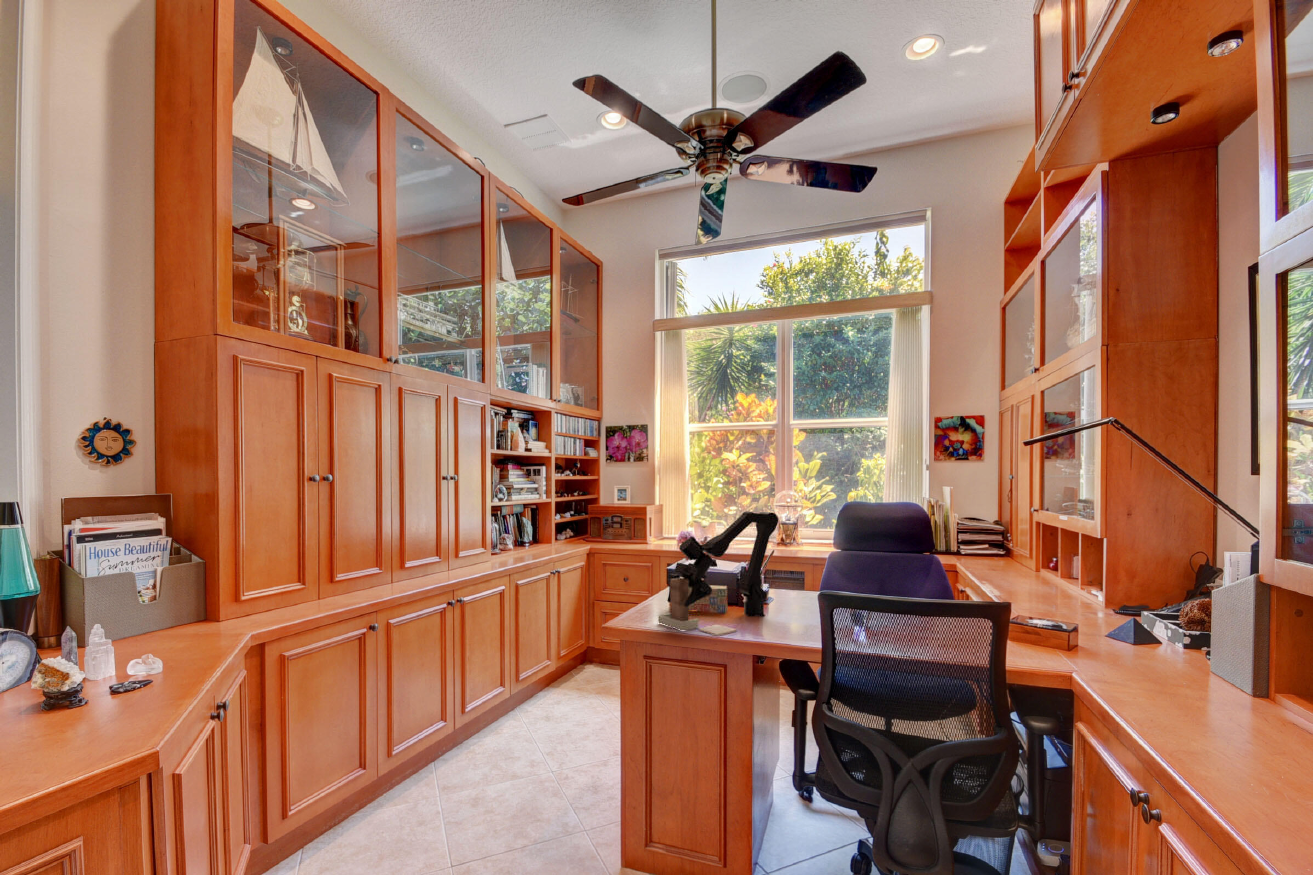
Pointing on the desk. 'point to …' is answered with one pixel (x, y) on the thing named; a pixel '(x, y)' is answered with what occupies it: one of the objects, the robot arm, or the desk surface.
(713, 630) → the grey mat
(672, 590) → the walnut block
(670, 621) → the grey u-shaped bracket
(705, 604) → the stack of blocks
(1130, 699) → the desk surface
